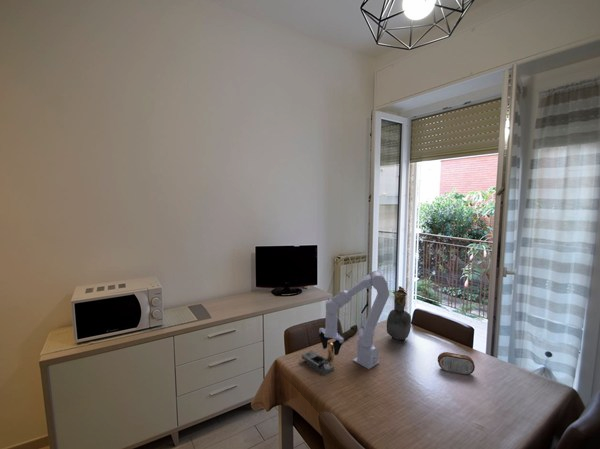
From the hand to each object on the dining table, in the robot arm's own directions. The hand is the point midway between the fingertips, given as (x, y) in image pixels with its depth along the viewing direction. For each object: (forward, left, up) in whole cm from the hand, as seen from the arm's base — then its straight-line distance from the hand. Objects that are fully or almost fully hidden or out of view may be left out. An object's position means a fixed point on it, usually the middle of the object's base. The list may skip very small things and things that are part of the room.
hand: (330, 351), depth 146 cm
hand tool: (+10, -25, -4) cm, 27 cm away
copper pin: (0, 0, -4) cm, 4 cm away
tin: (-44, -36, -4) cm, 57 cm away
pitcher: (-10, -45, -4) cm, 46 cm away
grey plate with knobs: (0, +9, -4) cm, 10 cm away
